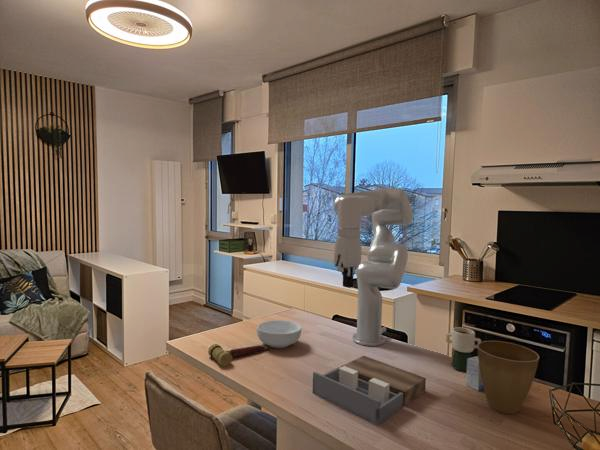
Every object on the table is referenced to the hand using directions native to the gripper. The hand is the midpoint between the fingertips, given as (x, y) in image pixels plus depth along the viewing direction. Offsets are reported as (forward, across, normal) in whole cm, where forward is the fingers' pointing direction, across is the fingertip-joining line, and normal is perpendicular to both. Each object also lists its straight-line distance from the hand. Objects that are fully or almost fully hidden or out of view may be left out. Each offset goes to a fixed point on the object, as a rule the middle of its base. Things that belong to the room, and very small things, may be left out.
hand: (347, 286), depth 132 cm
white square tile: (+22, +15, +12) cm, 29 cm away
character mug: (+27, -23, +31) cm, 47 cm away
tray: (+26, +20, +18) cm, 37 cm away
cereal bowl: (+26, +6, -27) cm, 38 cm away
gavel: (+26, +23, -29) cm, 45 cm away
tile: (+22, +15, +23) cm, 35 cm away
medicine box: (+27, -15, +40) cm, 50 cm away
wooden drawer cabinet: (+26, +6, +18) cm, 32 cm away
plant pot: (+26, -6, +48) cm, 55 cm away
